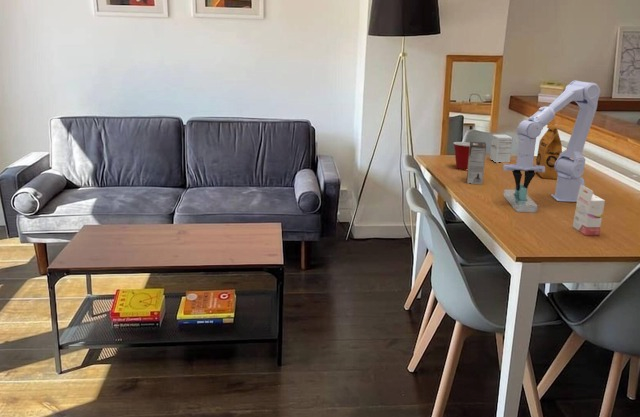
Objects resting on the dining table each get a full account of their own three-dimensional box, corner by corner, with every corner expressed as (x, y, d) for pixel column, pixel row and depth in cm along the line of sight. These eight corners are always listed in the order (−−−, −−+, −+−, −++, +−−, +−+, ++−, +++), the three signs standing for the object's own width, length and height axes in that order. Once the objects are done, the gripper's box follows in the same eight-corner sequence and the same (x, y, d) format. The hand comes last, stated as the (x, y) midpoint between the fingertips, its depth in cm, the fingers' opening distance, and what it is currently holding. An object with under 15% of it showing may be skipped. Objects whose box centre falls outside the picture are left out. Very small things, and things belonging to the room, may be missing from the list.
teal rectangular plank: (519, 198, 221) (521, 183, 220) (525, 204, 214) (527, 188, 212) (514, 198, 221) (516, 183, 220) (519, 204, 214) (521, 188, 212)
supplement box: (489, 160, 285) (491, 134, 281) (503, 159, 286) (506, 134, 282) (495, 163, 278) (498, 137, 274) (510, 163, 279) (513, 137, 275)
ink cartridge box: (600, 235, 186) (607, 191, 182) (585, 235, 186) (592, 191, 181) (586, 226, 195) (593, 183, 190) (571, 226, 194) (578, 183, 190)
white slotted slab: (521, 196, 227) (522, 190, 226) (536, 212, 208) (537, 205, 207) (503, 195, 227) (504, 189, 227) (516, 211, 208) (517, 205, 208)
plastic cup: (478, 168, 269) (481, 142, 266) (470, 172, 261) (473, 146, 257) (455, 164, 275) (458, 139, 271) (447, 169, 266) (449, 143, 262)
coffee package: (537, 178, 252) (544, 128, 245) (533, 171, 264) (539, 123, 257) (562, 180, 251) (569, 129, 244) (556, 173, 262) (563, 124, 255)
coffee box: (466, 178, 252) (469, 141, 247) (481, 179, 250) (485, 142, 245) (466, 183, 243) (470, 145, 238) (482, 184, 242) (486, 146, 237)
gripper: (508, 155, 208) (503, 192, 213) (549, 157, 208) (544, 193, 212) (503, 151, 215) (499, 187, 219) (543, 152, 214) (538, 188, 218)
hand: (521, 190), depth 216 cm, fingers closed on teal rectangular plank, 2 cm apart
